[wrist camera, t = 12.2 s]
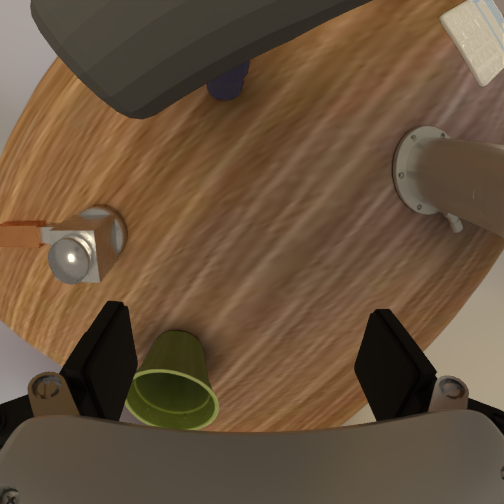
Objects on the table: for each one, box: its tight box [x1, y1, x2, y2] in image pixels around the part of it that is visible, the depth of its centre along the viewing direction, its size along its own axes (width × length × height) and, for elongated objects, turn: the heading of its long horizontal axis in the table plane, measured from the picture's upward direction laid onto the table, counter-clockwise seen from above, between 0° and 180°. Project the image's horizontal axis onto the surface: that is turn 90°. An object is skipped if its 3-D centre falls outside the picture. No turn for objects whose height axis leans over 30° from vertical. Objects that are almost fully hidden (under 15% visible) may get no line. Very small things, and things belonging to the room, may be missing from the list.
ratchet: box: [0, 205, 127, 254], centre depth 32 cm, size 20×7×6 cm, turn 87°
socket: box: [48, 215, 118, 284], centre depth 29 cm, size 6×6×8 cm
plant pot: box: [125, 331, 219, 430], centre depth 37 cm, size 12×12×11 cm
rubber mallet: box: [30, 0, 372, 119], centre depth 17 cm, size 12×8×30 cm, turn 125°
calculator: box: [439, 0, 504, 86], centre depth 28 cm, size 13×20×2 cm, turn 131°
